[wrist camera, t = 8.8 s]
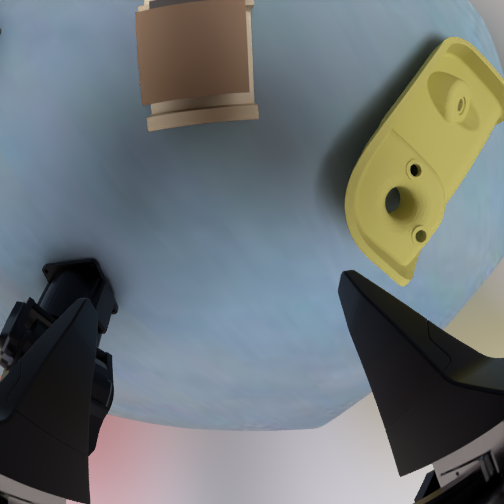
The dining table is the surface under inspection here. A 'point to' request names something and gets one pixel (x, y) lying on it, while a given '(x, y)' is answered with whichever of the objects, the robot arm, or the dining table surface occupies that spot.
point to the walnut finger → (192, 49)
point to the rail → (207, 99)
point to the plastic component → (422, 155)
